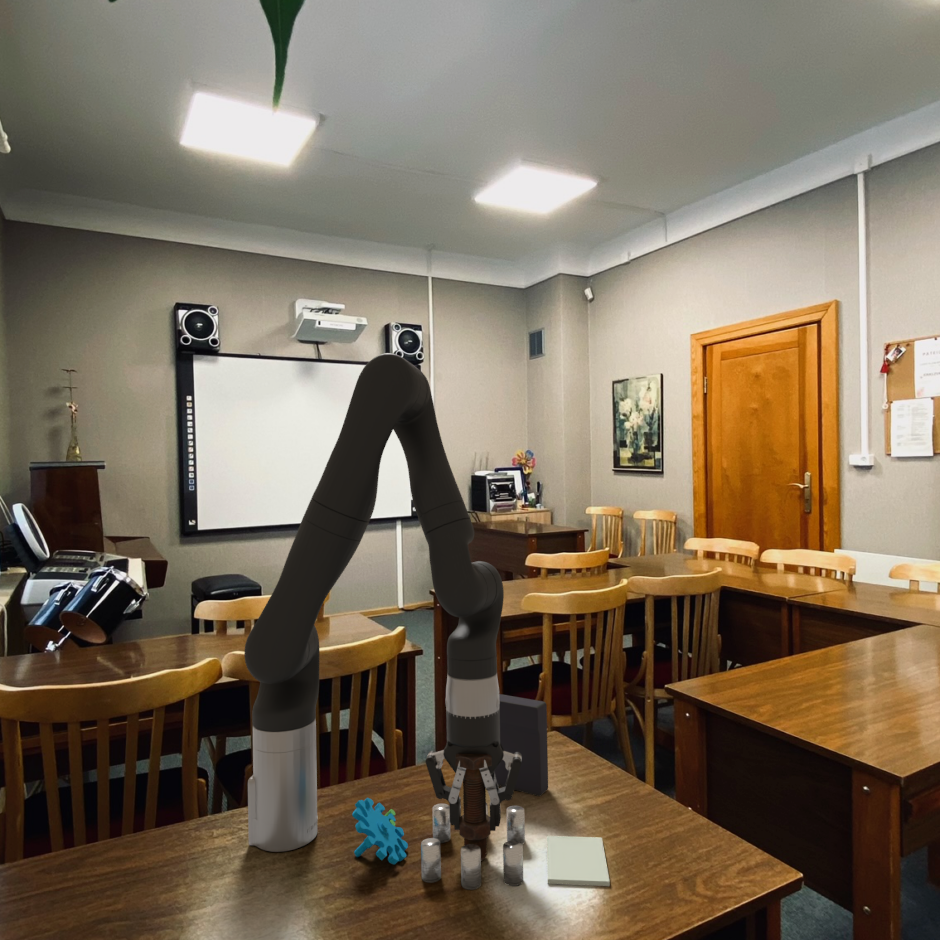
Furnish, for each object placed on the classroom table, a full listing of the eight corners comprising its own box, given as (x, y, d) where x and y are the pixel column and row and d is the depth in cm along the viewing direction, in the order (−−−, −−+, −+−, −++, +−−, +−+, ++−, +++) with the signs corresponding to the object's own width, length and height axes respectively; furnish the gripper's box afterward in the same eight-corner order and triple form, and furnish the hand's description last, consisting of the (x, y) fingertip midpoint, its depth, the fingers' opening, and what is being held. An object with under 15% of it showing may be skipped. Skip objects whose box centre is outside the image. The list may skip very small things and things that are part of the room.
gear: (397, 869, 91) (349, 807, 94) (366, 899, 91) (319, 837, 94) (421, 838, 102) (377, 784, 104) (393, 865, 102) (350, 811, 105)
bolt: (493, 869, 93) (491, 758, 94) (456, 869, 93) (454, 759, 94) (493, 846, 99) (491, 742, 99) (458, 847, 99) (456, 742, 99)
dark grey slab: (550, 788, 118) (548, 700, 118) (539, 798, 114) (537, 707, 114) (495, 774, 123) (493, 691, 124) (482, 784, 120) (481, 697, 120)
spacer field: (418, 887, 89) (417, 852, 90) (435, 829, 104) (435, 799, 104) (522, 891, 88) (522, 856, 88) (525, 832, 103) (524, 802, 103)
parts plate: (547, 883, 90) (547, 879, 90) (546, 839, 101) (546, 835, 101) (609, 886, 89) (609, 881, 89) (601, 841, 100) (601, 837, 100)
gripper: (524, 697, 100) (526, 816, 99) (427, 696, 101) (429, 813, 101) (523, 715, 92) (525, 843, 92) (418, 713, 94) (420, 840, 93)
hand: (475, 827), depth 96 cm, fingers closed on bolt, 4 cm apart
